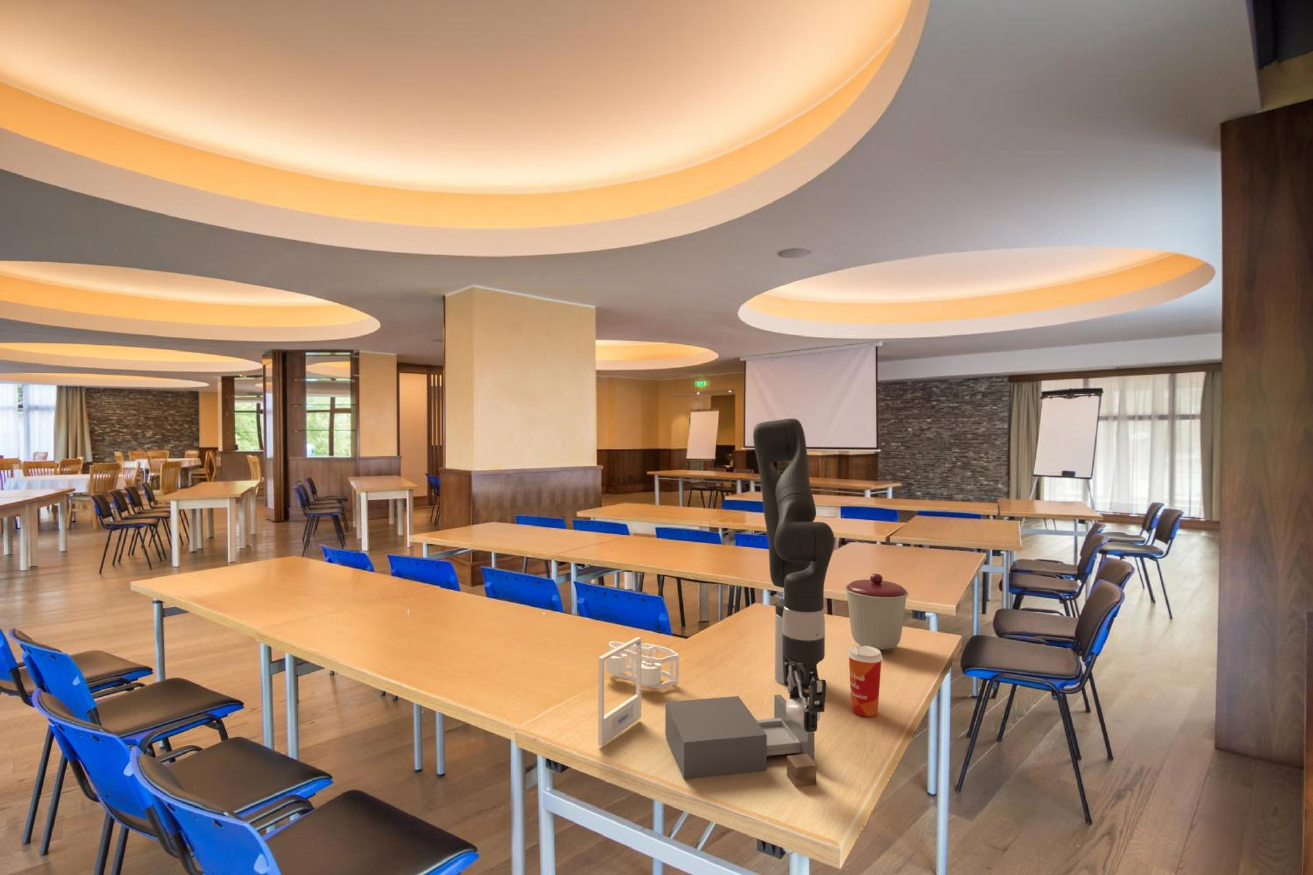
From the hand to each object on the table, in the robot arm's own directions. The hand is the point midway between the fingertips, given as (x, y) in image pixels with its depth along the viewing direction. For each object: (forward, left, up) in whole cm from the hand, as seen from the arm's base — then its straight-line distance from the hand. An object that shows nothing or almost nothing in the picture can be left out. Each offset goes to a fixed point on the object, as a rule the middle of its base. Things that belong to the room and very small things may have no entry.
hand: (802, 721), depth 114 cm
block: (0, 0, -11) cm, 11 cm away
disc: (0, 0, +1) cm, 1 cm away
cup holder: (+22, -52, -11) cm, 58 cm away
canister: (-52, -64, -11) cm, 83 cm away
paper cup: (-26, -24, -11) cm, 37 cm away
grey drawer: (+5, -13, -11) cm, 18 cm away
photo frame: (+30, -25, -11) cm, 41 cm away
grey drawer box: (+13, -13, -11) cm, 22 cm away
